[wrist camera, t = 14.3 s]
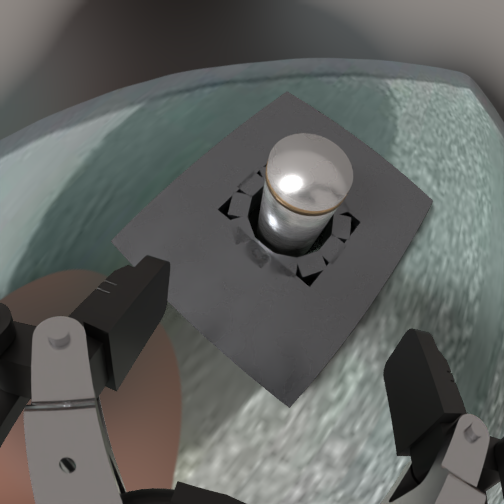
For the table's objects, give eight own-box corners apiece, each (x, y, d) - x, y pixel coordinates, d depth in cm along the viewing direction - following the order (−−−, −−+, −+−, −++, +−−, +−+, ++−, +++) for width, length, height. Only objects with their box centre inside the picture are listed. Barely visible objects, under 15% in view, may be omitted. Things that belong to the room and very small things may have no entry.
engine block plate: (283, 110, 31) (287, 91, 28) (418, 213, 28) (433, 201, 25) (123, 253, 25) (110, 241, 22) (282, 400, 22) (289, 407, 19)
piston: (281, 194, 27) (302, 120, 18) (325, 230, 26) (368, 168, 17) (243, 233, 26) (248, 167, 16) (290, 272, 25) (322, 224, 16)
